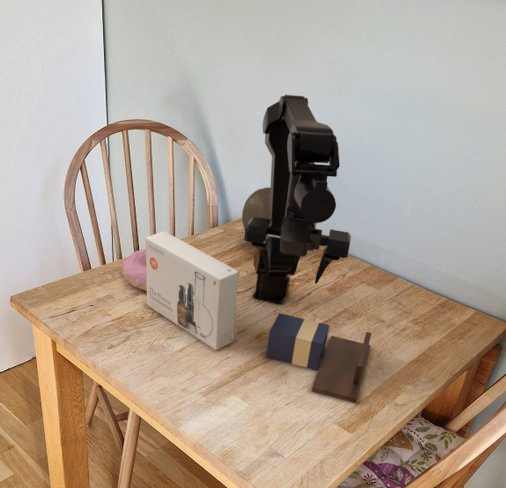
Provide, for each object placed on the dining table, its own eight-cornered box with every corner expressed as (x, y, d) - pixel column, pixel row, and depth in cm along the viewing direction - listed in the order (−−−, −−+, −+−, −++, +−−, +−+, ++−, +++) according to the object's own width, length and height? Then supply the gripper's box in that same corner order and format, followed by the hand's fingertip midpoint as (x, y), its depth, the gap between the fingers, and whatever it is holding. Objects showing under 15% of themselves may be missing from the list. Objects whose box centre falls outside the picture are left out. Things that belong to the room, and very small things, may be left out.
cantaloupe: (304, 249, 158) (312, 194, 150) (264, 263, 150) (271, 205, 142) (266, 230, 167) (272, 176, 159) (227, 242, 158) (231, 185, 150)
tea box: (265, 357, 116) (269, 330, 113) (275, 338, 122) (279, 312, 119) (317, 370, 114) (322, 344, 111) (324, 350, 120) (329, 324, 117)
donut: (110, 288, 132) (110, 267, 130) (137, 259, 145) (137, 239, 142) (179, 302, 130) (180, 281, 127) (200, 271, 143) (201, 252, 140)
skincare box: (143, 306, 127) (144, 236, 119) (164, 298, 131) (165, 229, 122) (214, 352, 116) (220, 278, 108) (234, 342, 120) (241, 269, 111)
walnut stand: (311, 391, 109) (315, 368, 106) (330, 339, 124) (334, 318, 121) (355, 403, 107) (361, 380, 105) (369, 349, 122) (374, 328, 119)
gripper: (242, 207, 101) (234, 289, 110) (354, 225, 99) (338, 308, 108) (254, 185, 111) (246, 263, 119) (357, 202, 109) (342, 279, 117)
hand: (291, 278), depth 116 cm, fingers open, 9 cm apart
